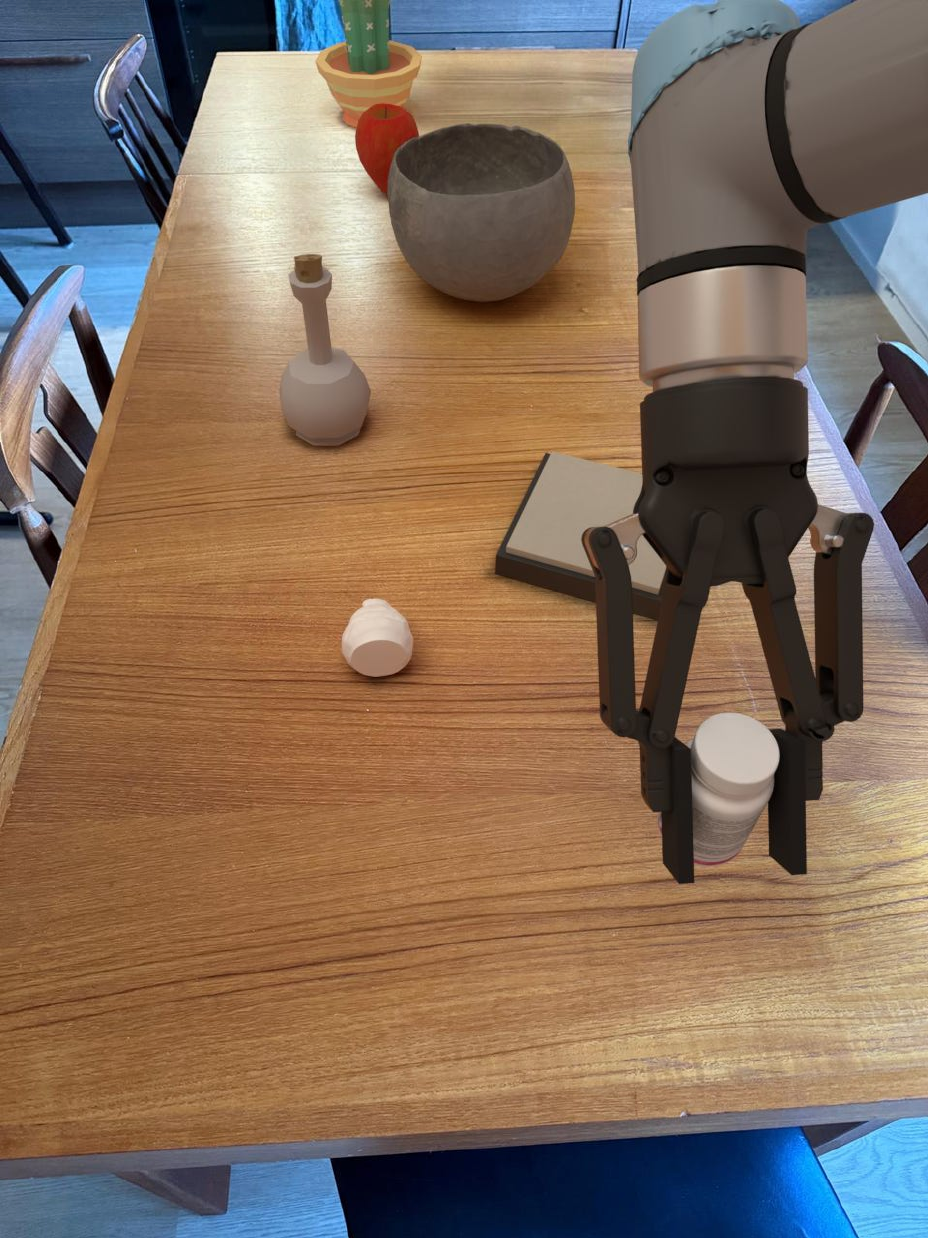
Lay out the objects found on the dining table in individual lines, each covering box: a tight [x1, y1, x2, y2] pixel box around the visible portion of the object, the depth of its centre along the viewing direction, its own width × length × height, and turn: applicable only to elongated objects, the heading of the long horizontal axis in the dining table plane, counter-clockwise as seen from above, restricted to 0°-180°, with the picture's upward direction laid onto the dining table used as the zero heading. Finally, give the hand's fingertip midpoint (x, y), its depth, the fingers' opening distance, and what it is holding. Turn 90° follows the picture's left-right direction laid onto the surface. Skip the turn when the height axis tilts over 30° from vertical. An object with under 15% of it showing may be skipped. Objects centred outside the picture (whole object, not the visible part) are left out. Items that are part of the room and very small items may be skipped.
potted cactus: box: [315, 0, 423, 128], centre depth 126 cm, size 15×15×25 cm
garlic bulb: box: [341, 597, 414, 678], centre depth 69 cm, size 6×6×6 cm
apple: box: [354, 103, 420, 195], centre depth 116 cm, size 9×8×11 cm
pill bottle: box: [656, 711, 780, 868], centre depth 46 cm, size 5×5×8 cm
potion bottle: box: [279, 253, 372, 447], centre depth 82 cm, size 9×9×18 cm
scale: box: [494, 451, 666, 621], centre depth 78 cm, size 16×14×3 cm
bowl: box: [386, 122, 576, 303], centre depth 100 cm, size 20×20×15 cm
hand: (733, 867), depth 44 cm, fingers closed on pill bottle, 5 cm apart
